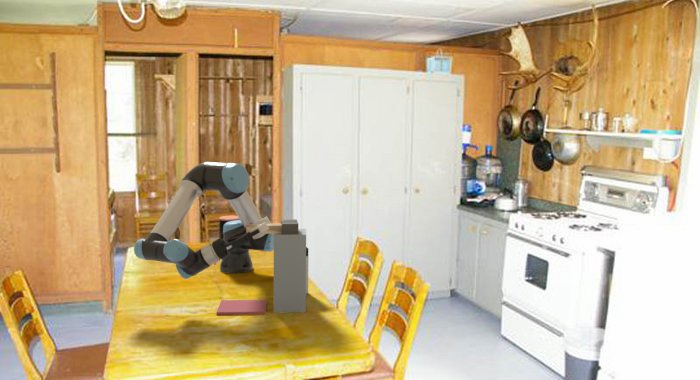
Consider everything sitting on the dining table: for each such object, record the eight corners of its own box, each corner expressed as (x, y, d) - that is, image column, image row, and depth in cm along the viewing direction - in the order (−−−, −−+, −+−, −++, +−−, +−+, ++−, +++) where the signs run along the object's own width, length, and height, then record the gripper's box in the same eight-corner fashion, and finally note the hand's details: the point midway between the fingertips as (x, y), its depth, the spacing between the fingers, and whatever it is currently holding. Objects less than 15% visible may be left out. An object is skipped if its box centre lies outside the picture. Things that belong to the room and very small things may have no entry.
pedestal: (274, 303, 226) (274, 228, 221) (305, 302, 227) (305, 228, 222) (273, 312, 216) (273, 234, 211) (305, 312, 217) (306, 234, 212)
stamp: (246, 230, 217) (246, 220, 217) (296, 229, 221) (296, 219, 220) (246, 235, 209) (246, 224, 209) (298, 234, 213) (298, 223, 212)
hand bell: (173, 256, 291) (172, 225, 288) (189, 257, 290) (188, 226, 287) (166, 260, 283) (165, 228, 280) (182, 261, 282) (181, 229, 279)
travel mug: (301, 290, 242) (301, 244, 239) (311, 294, 237) (311, 247, 234) (289, 293, 238) (289, 246, 235) (299, 297, 233) (299, 249, 230)
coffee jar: (216, 252, 299) (215, 218, 296) (224, 247, 309) (223, 214, 306) (236, 253, 297) (235, 219, 294) (243, 248, 308) (242, 215, 305)
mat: (221, 302, 225) (221, 300, 225) (267, 302, 227) (267, 299, 227) (216, 314, 213) (216, 312, 212) (265, 314, 214) (265, 311, 214)
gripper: (225, 251, 227) (274, 224, 227) (217, 268, 205) (271, 237, 205) (215, 235, 226) (264, 208, 226) (206, 250, 204) (260, 220, 204)
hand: (267, 222), depth 216 cm, fingers open, 10 cm apart
